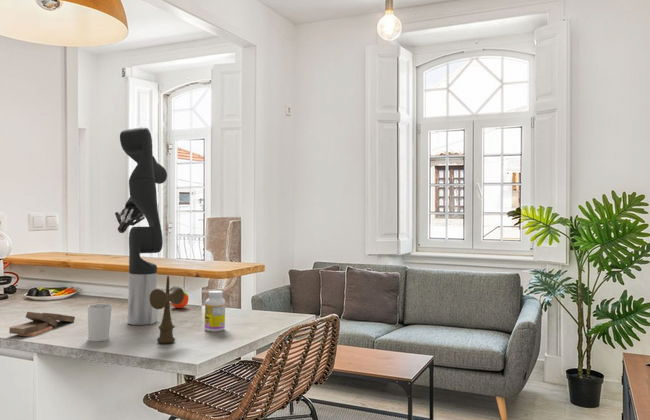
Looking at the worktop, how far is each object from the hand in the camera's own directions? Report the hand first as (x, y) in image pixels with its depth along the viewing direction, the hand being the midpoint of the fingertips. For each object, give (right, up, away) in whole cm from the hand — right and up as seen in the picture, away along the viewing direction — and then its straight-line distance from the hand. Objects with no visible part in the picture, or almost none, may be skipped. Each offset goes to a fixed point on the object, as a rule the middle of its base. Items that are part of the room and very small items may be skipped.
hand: (120, 231), depth 214 cm
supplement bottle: (+43, -32, -32) cm, 62 cm away
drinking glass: (+11, -31, -48) cm, 58 cm away
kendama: (+32, -31, -50) cm, 67 cm away
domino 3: (-10, -30, -38) cm, 49 cm away
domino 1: (-10, -28, -40) cm, 50 cm away
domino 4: (-8, -29, -26) cm, 40 cm away
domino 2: (-11, -29, -34) cm, 46 cm away
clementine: (+23, -31, +3) cm, 38 cm away
